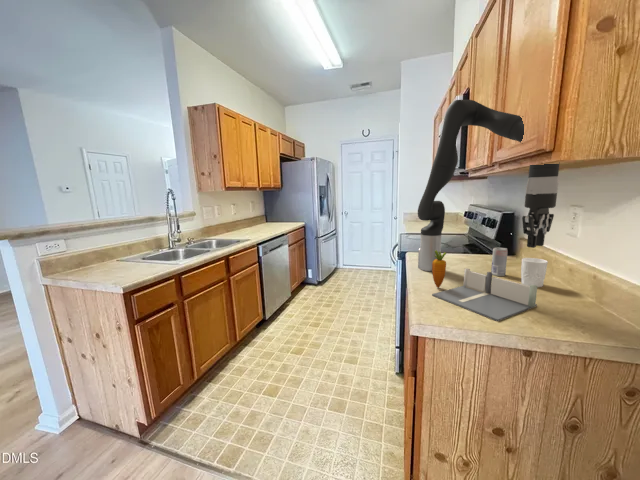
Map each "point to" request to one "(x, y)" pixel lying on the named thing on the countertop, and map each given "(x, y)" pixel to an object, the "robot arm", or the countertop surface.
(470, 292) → the card
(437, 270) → the carrot
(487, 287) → the bar
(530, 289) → the fence gate
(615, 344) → the countertop surface
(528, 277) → the white cup
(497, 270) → the energy drink
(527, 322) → the countertop surface
